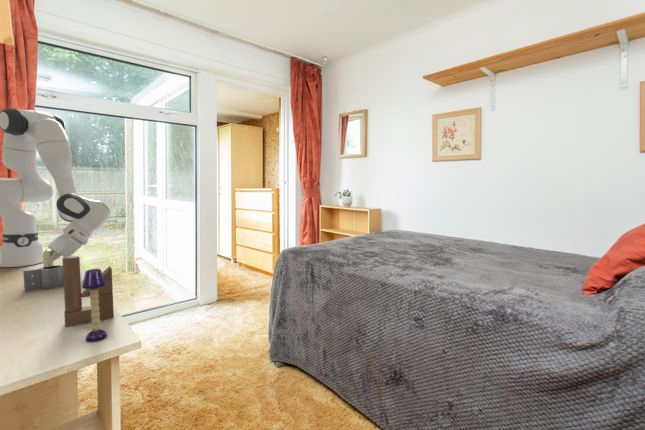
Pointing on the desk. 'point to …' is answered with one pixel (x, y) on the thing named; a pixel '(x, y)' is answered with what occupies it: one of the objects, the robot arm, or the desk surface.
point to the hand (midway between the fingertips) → (46, 262)
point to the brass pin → (47, 255)
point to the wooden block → (84, 294)
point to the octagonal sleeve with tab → (43, 278)
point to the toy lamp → (94, 302)
